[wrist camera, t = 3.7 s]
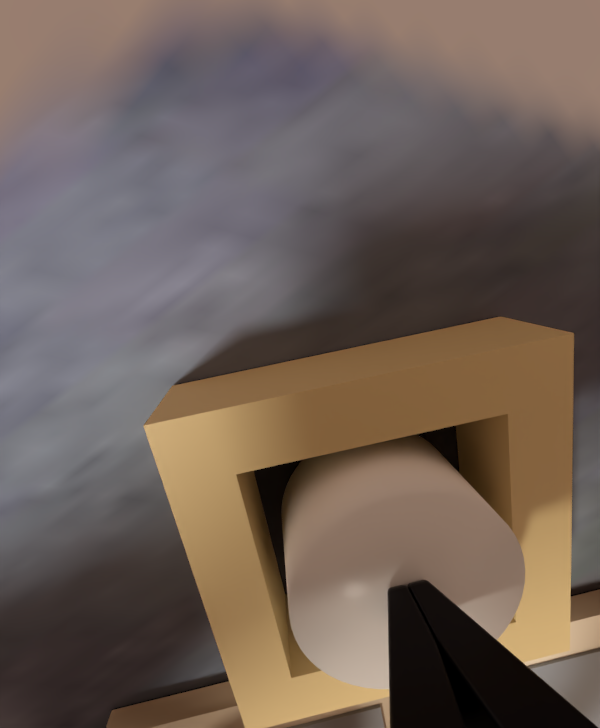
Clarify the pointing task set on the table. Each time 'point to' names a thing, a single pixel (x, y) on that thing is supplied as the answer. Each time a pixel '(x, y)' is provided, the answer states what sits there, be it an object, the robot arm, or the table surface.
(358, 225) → the table surface
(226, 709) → the makeup compact
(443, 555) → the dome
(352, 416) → the box
